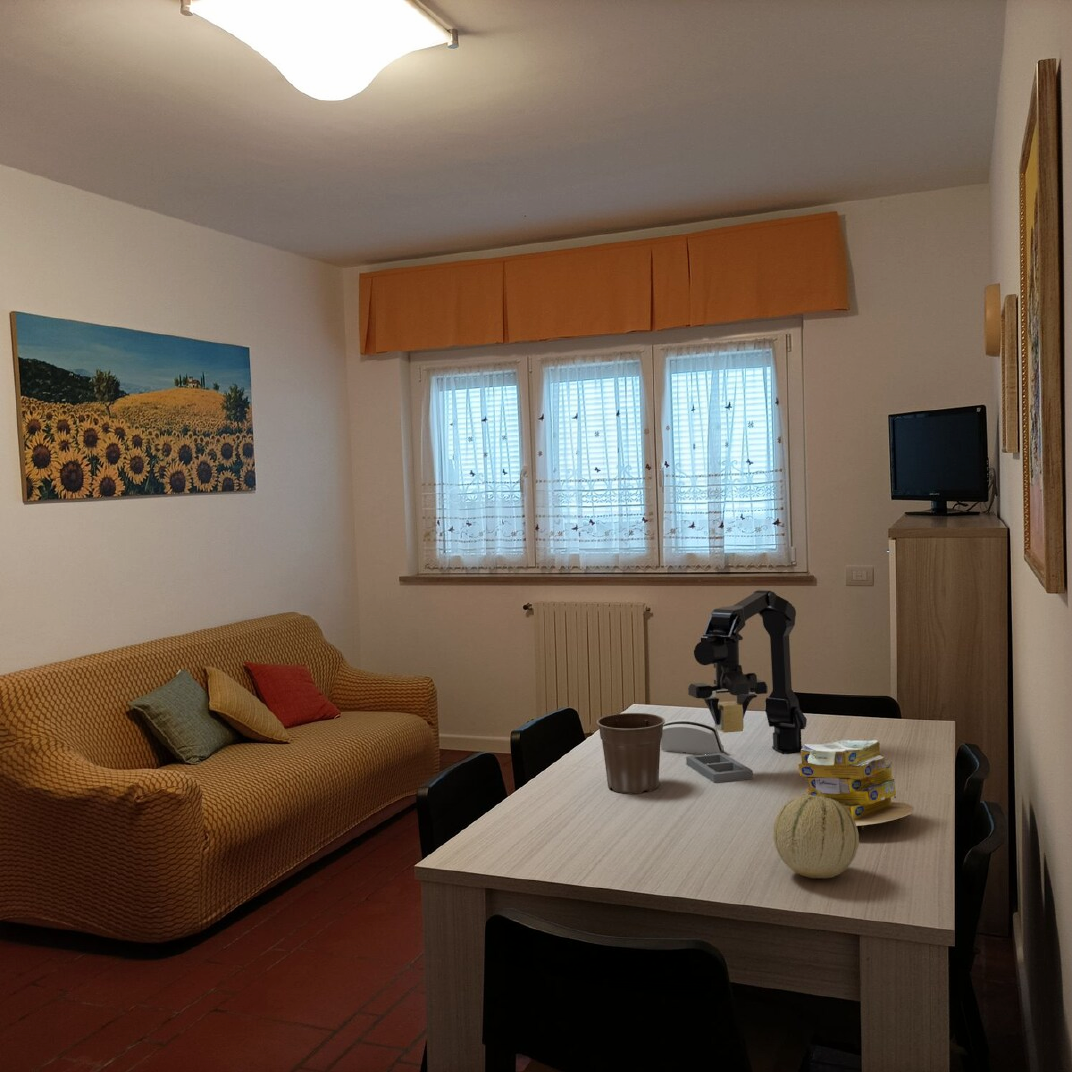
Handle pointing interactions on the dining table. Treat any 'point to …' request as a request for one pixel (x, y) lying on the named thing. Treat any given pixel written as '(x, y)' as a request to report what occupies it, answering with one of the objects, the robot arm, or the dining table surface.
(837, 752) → the stacked yellow boxes
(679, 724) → the grey arched block
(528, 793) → the dining table surface
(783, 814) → the cantaloupe
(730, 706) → the metal-backed wooden cube
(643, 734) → the plant pot
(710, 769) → the gray rectangular tray
